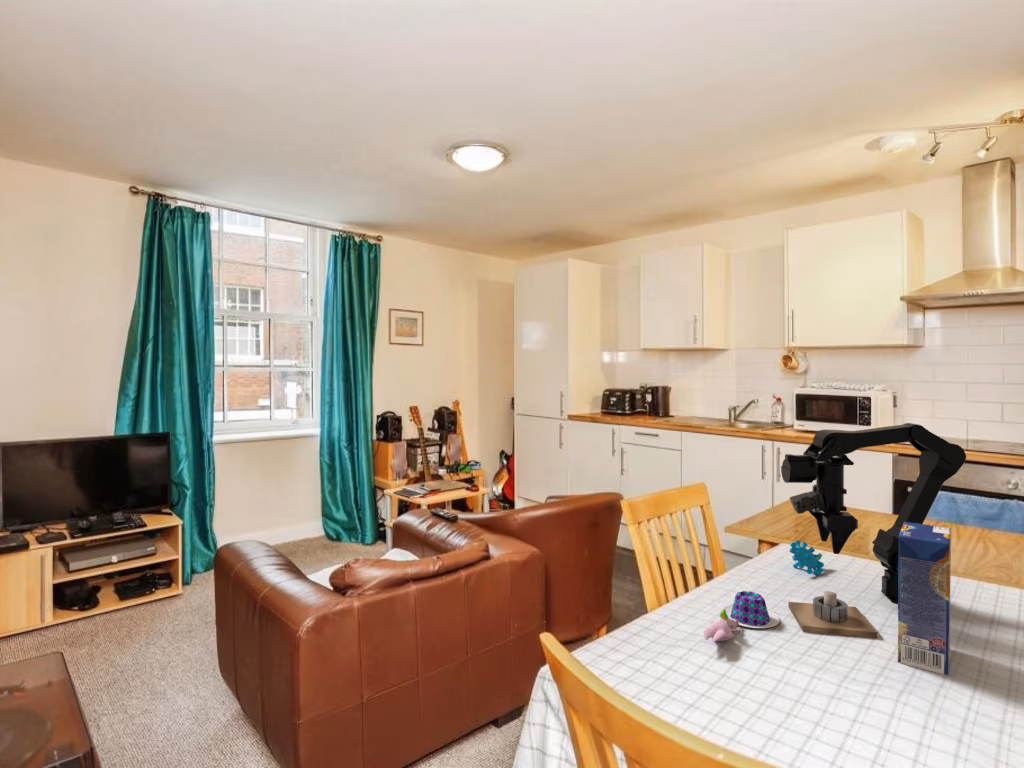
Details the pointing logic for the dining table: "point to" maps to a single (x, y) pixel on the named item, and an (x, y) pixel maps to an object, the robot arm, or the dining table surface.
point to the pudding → (751, 610)
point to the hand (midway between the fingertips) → (829, 547)
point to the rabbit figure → (721, 628)
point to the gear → (806, 558)
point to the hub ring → (830, 610)
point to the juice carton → (924, 596)
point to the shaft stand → (810, 623)
